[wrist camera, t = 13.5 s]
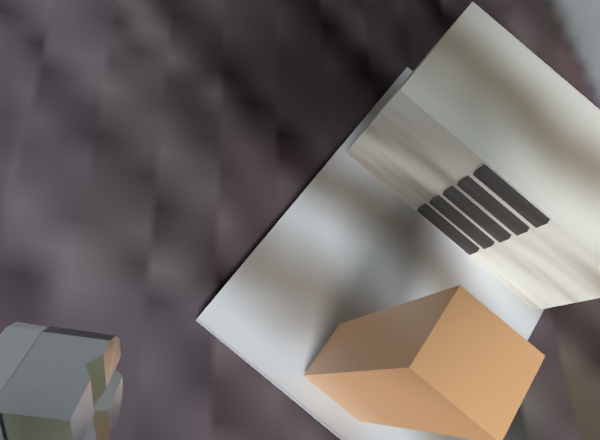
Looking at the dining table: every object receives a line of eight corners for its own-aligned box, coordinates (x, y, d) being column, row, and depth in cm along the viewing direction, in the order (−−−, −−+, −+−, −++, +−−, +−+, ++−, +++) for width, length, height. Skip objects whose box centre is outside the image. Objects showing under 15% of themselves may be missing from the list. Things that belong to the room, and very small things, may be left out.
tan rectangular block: (359, 421, 30) (500, 443, 18) (303, 375, 30) (409, 367, 18) (392, 367, 32) (545, 355, 20) (339, 323, 32) (460, 285, 20)
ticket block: (426, 510, 31) (530, 554, 23) (195, 320, 31) (214, 295, 22) (580, 225, 40) (695, 182, 32) (401, 74, 39) (469, -10, 31)
